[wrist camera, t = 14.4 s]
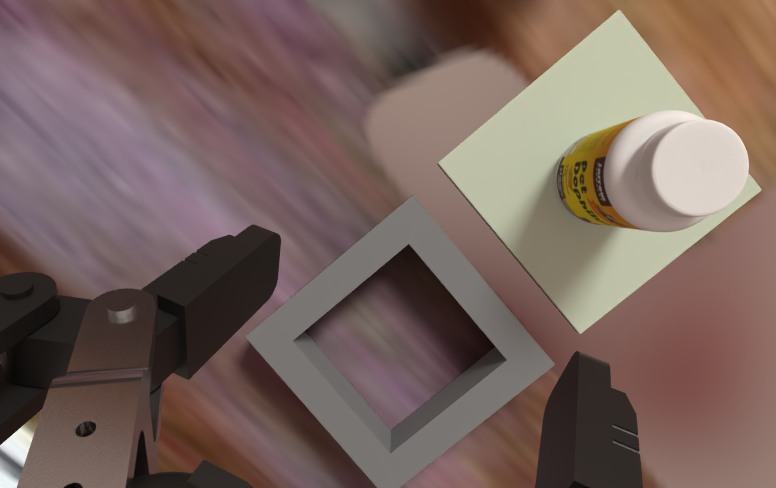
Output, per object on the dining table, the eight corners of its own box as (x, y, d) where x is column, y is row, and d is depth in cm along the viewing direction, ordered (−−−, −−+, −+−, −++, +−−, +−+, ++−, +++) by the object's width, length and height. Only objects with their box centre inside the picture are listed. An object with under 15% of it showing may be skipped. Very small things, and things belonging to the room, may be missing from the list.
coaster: (436, 163, 31) (438, 162, 30) (613, 14, 30) (619, 9, 29) (575, 330, 31) (580, 334, 31) (752, 190, 30) (761, 189, 30)
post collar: (259, 324, 32) (245, 336, 29) (411, 195, 31) (413, 194, 28) (387, 471, 32) (386, 498, 29) (540, 349, 32) (555, 364, 29)
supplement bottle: (536, 161, 30) (607, 140, 20) (618, 116, 29) (734, 71, 19) (577, 241, 30) (669, 260, 20) (659, 197, 30) (794, 195, 20)
